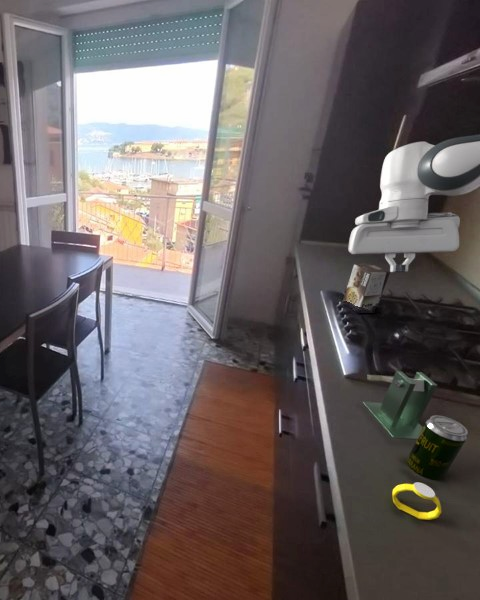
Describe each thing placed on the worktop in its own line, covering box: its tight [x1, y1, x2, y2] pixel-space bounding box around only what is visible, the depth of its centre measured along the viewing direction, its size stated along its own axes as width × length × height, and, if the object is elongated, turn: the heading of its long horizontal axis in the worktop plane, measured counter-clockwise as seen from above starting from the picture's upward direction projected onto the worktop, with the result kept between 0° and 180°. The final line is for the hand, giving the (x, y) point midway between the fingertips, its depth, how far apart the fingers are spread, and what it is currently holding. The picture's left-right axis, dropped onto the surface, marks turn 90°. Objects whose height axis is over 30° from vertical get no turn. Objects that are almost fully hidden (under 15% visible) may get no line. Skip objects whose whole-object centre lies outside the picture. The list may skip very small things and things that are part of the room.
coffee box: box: [342, 262, 391, 307], centre depth 127 cm, size 9×6×16 cm
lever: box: [366, 374, 424, 392], centre depth 79 cm, size 11×6×2 cm, turn 172°
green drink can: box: [406, 414, 469, 482], centre depth 66 cm, size 5×5×12 cm
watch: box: [392, 481, 442, 521], centre depth 61 cm, size 6×3×6 cm, turn 51°
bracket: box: [362, 370, 438, 440], centre depth 77 cm, size 11×8×13 cm
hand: (398, 272), depth 87 cm, fingers closed
